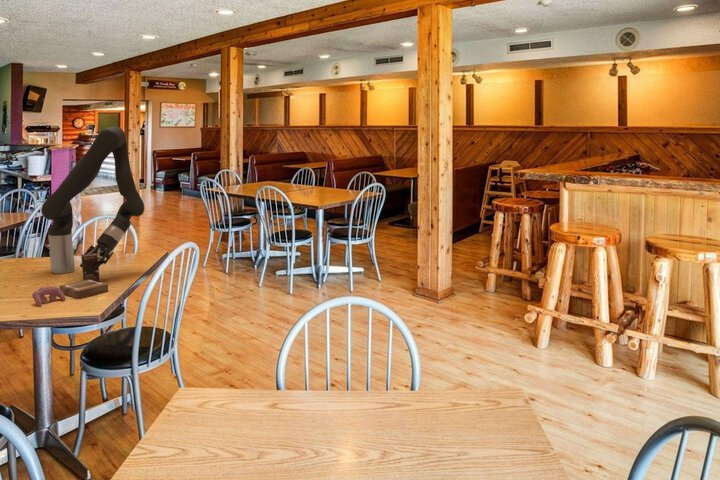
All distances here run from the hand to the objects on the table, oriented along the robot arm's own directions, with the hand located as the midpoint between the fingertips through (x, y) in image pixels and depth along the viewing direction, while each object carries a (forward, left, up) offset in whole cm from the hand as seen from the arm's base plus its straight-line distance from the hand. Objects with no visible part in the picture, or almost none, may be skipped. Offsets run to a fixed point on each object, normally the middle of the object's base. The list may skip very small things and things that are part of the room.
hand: (87, 268), depth 223 cm
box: (0, +1, -6) cm, 7 cm away
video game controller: (+13, -23, -6) cm, 27 cm away
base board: (+11, -9, -6) cm, 16 cm away
